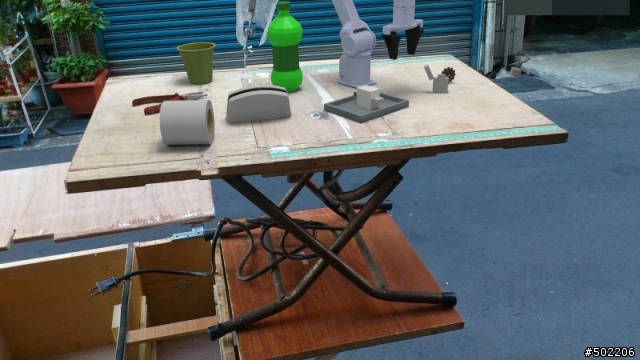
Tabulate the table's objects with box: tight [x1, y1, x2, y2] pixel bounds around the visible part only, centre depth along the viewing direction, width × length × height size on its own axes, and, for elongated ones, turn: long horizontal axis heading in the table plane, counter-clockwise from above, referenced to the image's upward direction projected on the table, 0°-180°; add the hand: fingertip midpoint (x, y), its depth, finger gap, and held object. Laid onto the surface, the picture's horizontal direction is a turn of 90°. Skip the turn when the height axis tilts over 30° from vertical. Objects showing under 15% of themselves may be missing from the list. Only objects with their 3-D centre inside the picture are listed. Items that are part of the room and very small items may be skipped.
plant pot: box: [176, 41, 216, 85], centre depth 168 cm, size 12×12×11 cm
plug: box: [353, 85, 384, 110], centre depth 142 cm, size 9×4×5 cm, turn 41°
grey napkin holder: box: [225, 84, 292, 124], centre depth 137 cm, size 17×5×10 cm, turn 103°
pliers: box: [131, 91, 208, 116], centre depth 151 cm, size 12×20×3 cm, turn 127°
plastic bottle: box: [266, 0, 304, 93], centre depth 155 cm, size 10×10×25 cm
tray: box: [323, 91, 410, 124], centre depth 143 cm, size 14×18×2 cm
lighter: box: [423, 64, 449, 94], centre depth 153 cm, size 7×2×8 cm, turn 85°
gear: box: [440, 66, 457, 84], centre depth 161 cm, size 5×1×5 cm, turn 108°
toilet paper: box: [159, 99, 216, 146], centre depth 122 cm, size 10×10×10 cm
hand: (402, 56), depth 151 cm, fingers open, 7 cm apart
